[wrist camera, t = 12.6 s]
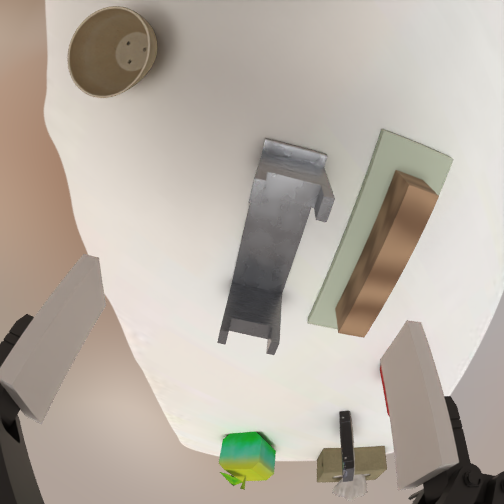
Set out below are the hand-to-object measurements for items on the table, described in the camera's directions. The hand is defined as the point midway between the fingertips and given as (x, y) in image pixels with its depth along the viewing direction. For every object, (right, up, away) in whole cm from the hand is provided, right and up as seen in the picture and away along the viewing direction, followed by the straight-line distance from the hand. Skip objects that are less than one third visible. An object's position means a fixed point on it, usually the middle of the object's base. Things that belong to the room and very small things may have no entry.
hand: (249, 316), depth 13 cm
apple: (0, -47, +63) cm, 78 cm away
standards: (+3, +5, +29) cm, 30 cm away
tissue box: (+29, -56, +65) cm, 90 cm away
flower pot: (-14, +26, +18) cm, 35 cm away
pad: (+17, +3, +28) cm, 33 cm away
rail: (+17, +3, +28) cm, 32 cm away
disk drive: (+22, -37, +53) cm, 68 cm away
